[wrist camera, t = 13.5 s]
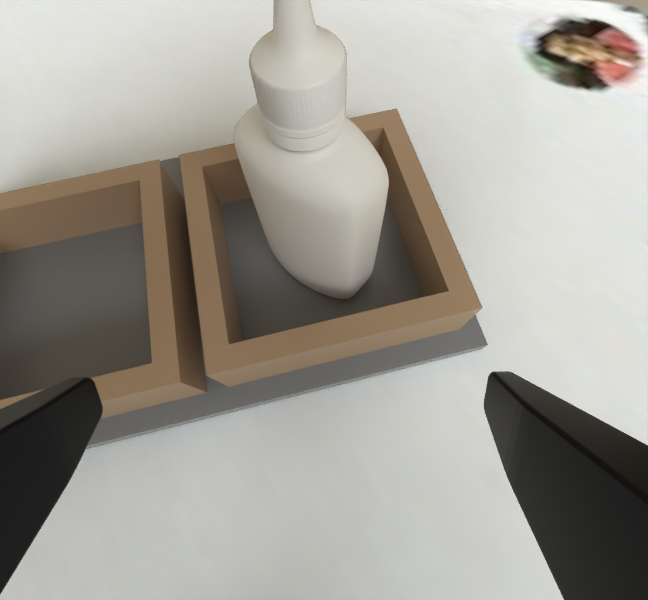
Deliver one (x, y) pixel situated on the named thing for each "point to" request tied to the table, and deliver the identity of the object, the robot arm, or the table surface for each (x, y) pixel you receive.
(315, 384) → the well tray
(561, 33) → the table surface
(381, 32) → the table surface
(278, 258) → the eye dropper bottle
